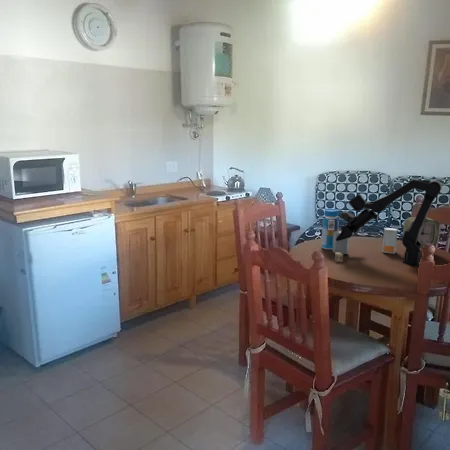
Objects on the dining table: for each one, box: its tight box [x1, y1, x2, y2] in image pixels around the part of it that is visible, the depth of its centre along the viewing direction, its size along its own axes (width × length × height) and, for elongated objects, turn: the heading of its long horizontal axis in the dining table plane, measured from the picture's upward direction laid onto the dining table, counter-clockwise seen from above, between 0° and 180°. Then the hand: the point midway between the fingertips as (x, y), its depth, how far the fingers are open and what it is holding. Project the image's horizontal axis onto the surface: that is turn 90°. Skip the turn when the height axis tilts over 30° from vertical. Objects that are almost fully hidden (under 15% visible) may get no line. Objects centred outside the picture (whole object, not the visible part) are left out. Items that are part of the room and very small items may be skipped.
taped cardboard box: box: [334, 252, 344, 263], centre depth 216 cm, size 4×4×4 cm
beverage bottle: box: [321, 208, 340, 251], centre depth 237 cm, size 8×8×20 cm
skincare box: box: [381, 227, 399, 255], centre depth 231 cm, size 6×4×12 cm
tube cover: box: [332, 230, 350, 255], centre depth 227 cm, size 7×7×10 cm
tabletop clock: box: [402, 203, 440, 250], centre depth 229 cm, size 14×9×25 cm, turn 92°
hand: (338, 238), depth 228 cm, fingers closed on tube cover, 7 cm apart
